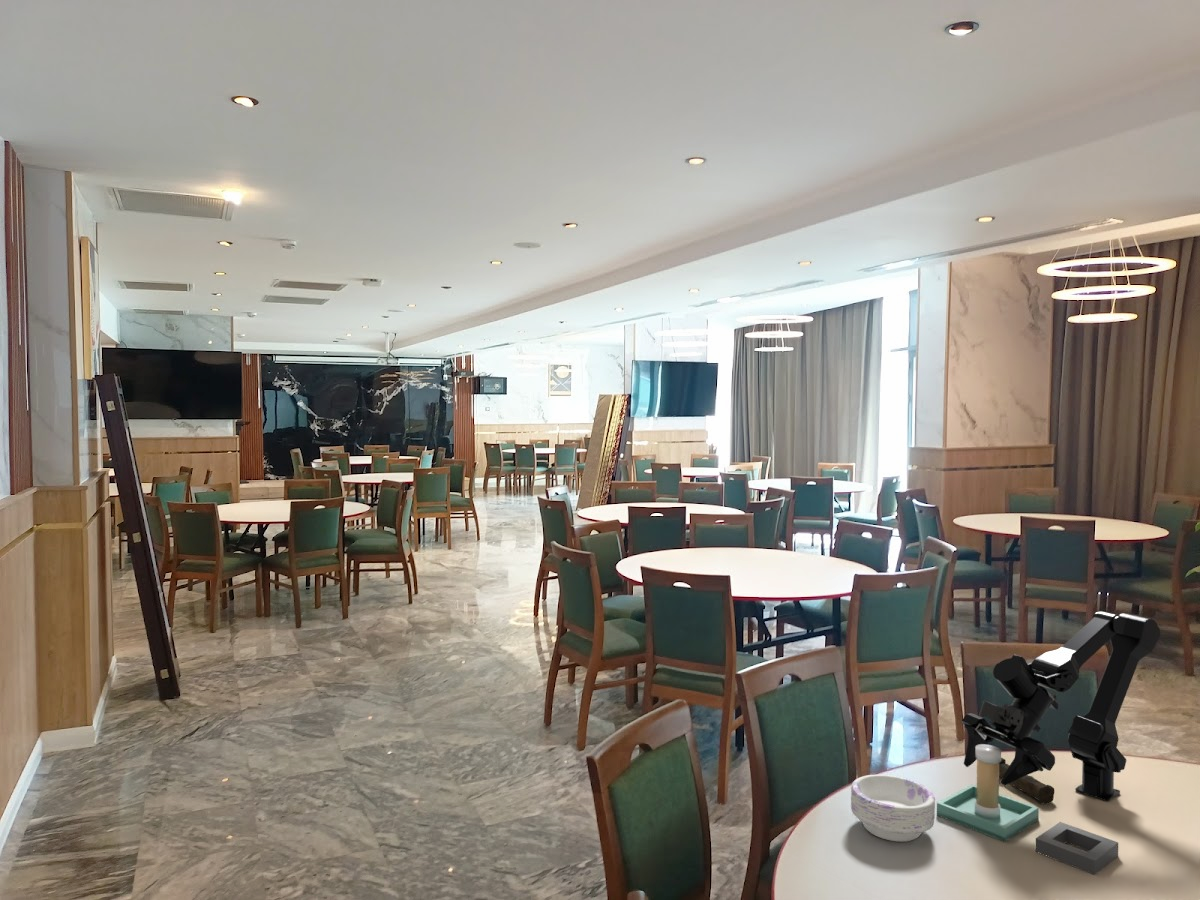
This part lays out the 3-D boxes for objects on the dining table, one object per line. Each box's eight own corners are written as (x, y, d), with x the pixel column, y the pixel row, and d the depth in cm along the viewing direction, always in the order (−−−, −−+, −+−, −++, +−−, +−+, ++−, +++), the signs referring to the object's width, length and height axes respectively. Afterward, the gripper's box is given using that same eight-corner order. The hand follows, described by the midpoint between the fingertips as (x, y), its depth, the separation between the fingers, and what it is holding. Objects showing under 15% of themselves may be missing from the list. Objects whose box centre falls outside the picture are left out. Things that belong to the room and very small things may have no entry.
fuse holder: (1059, 834, 159) (1060, 821, 159) (1118, 856, 151) (1118, 842, 151) (1035, 851, 152) (1035, 838, 152) (1094, 874, 145) (1095, 860, 145)
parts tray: (971, 796, 175) (971, 784, 175) (1038, 820, 164) (1038, 807, 164) (936, 815, 167) (936, 802, 167) (1004, 841, 156) (1005, 828, 156)
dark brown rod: (1055, 804, 172) (1056, 782, 172) (1039, 806, 171) (1039, 784, 171) (992, 767, 190) (992, 747, 190) (977, 769, 189) (977, 749, 189)
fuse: (991, 807, 168) (992, 743, 168) (1005, 818, 164) (1006, 752, 163) (969, 808, 168) (970, 744, 167) (982, 819, 163) (983, 753, 163)
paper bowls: (950, 833, 159) (950, 792, 159) (904, 859, 150) (905, 815, 150) (880, 804, 172) (881, 766, 171) (834, 826, 162) (834, 786, 162)
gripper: (968, 674, 175) (926, 733, 171) (1045, 701, 158) (999, 768, 154) (996, 706, 178) (955, 765, 174) (1074, 737, 161) (1031, 803, 157)
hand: (983, 774), depth 165 cm, fingers open, 9 cm apart
